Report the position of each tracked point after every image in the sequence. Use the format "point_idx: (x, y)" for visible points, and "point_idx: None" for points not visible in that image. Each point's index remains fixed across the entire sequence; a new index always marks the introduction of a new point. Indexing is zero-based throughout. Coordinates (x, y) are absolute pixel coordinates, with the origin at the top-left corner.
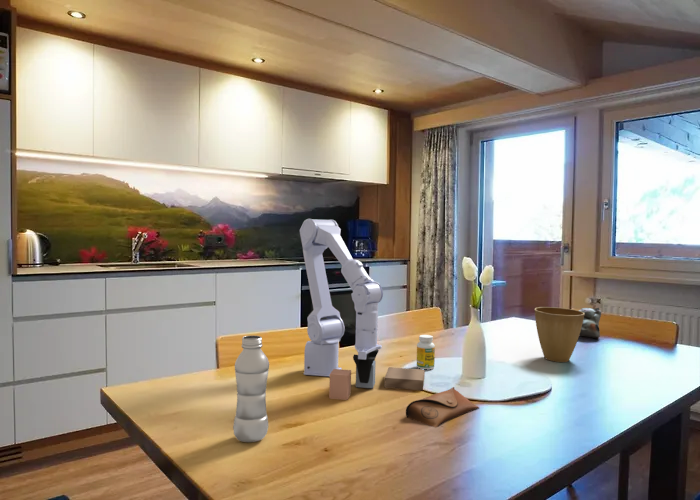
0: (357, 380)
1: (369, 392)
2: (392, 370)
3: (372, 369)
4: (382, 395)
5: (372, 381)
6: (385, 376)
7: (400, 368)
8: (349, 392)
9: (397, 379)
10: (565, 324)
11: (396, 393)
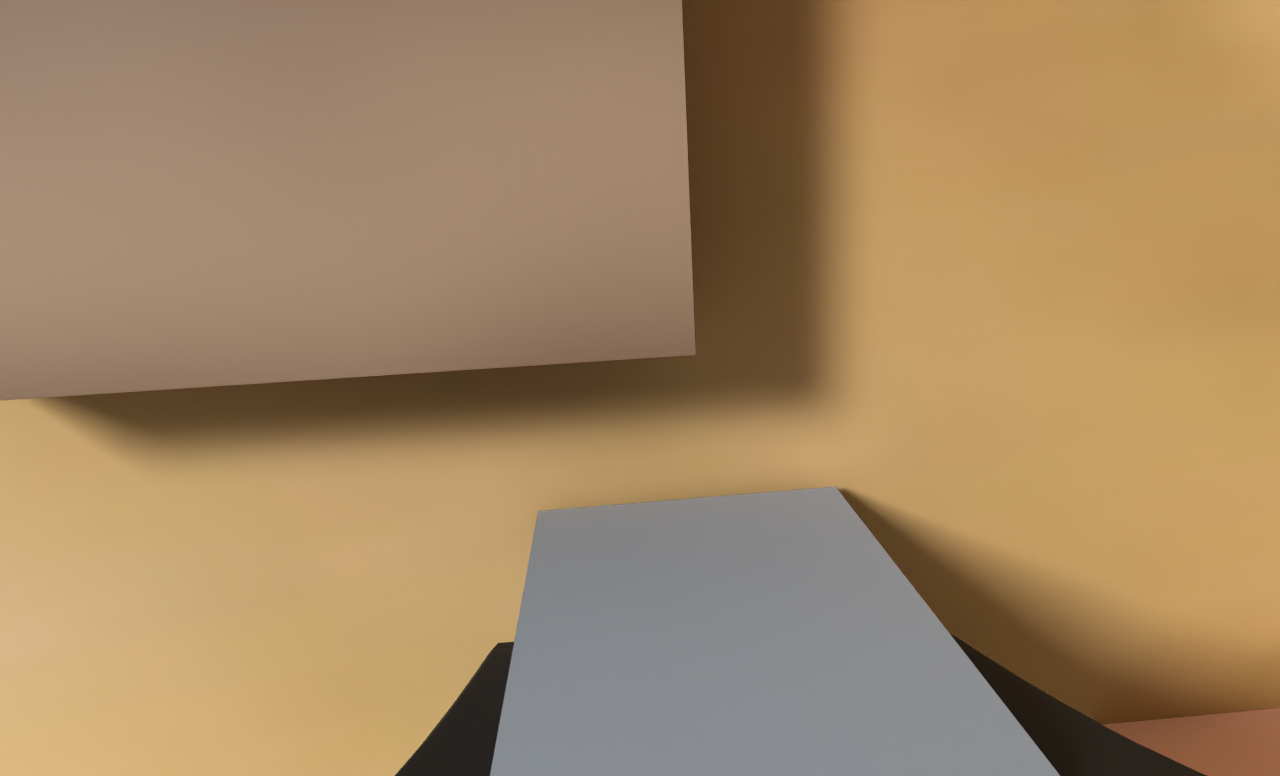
0: None
1: (990, 496)
2: (25, 274)
3: (991, 709)
4: (1099, 268)
5: (876, 547)
6: (595, 351)
7: None
8: (1240, 754)
9: (678, 34)
10: None
11: (955, 36)
